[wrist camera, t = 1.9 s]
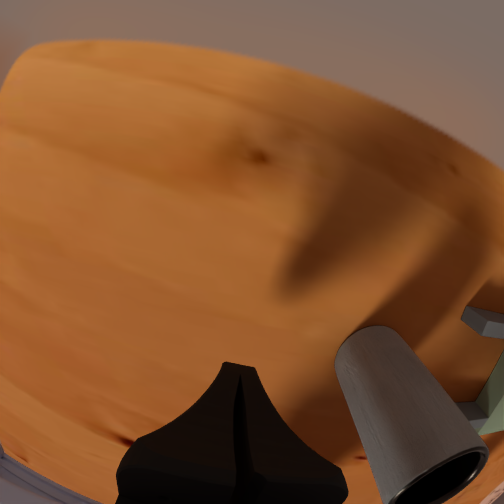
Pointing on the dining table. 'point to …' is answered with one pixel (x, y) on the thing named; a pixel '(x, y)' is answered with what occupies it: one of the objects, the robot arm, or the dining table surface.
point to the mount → (499, 383)
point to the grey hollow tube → (406, 421)
